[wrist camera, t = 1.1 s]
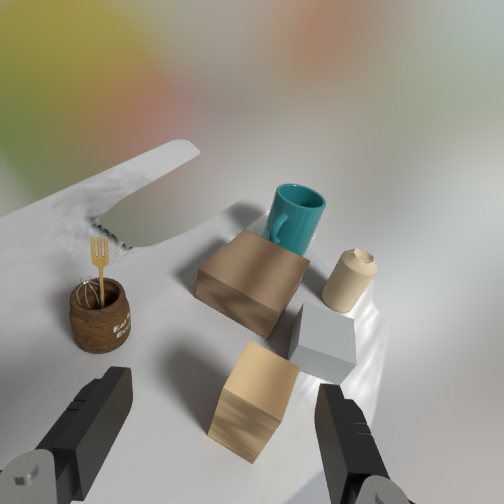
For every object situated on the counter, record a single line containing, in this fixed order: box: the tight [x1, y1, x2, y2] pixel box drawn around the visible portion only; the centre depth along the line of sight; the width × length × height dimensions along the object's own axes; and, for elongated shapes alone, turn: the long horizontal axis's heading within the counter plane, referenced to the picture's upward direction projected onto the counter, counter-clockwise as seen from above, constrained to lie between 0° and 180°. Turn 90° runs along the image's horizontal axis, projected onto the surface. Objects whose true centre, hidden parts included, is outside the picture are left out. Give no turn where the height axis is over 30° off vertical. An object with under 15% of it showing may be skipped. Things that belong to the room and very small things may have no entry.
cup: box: [262, 184, 326, 256], centre depth 52 cm, size 9×12×11 cm
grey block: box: [287, 303, 357, 385], centre depth 37 cm, size 7×7×5 cm
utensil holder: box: [69, 237, 131, 354], centre depth 30 cm, size 6×6×12 cm
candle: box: [321, 248, 377, 313], centre depth 45 cm, size 6×6×10 cm
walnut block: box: [195, 229, 310, 340], centre depth 43 cm, size 12×13×6 cm
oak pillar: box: [207, 340, 300, 464], centre depth 27 cm, size 5×5×10 cm
